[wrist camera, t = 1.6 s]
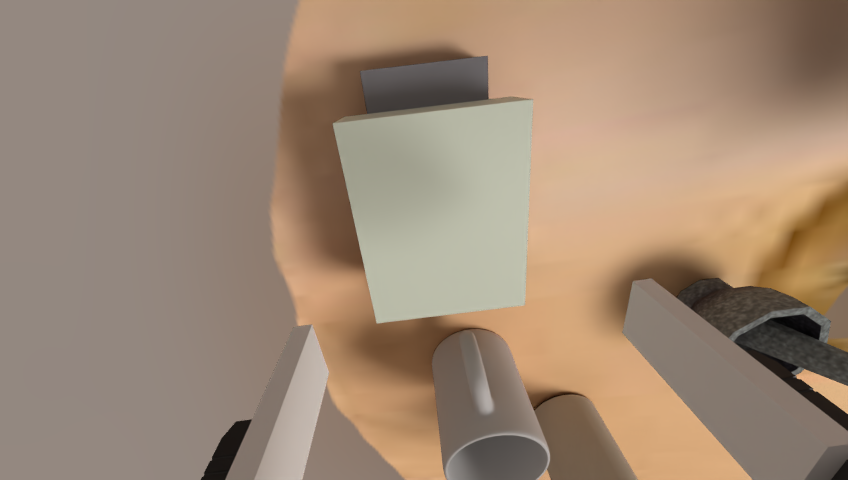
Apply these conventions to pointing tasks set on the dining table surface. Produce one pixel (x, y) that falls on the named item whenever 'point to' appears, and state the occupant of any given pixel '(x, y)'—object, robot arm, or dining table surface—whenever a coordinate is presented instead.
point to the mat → (425, 84)
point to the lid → (441, 205)
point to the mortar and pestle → (769, 326)
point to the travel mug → (580, 441)
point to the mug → (485, 411)
